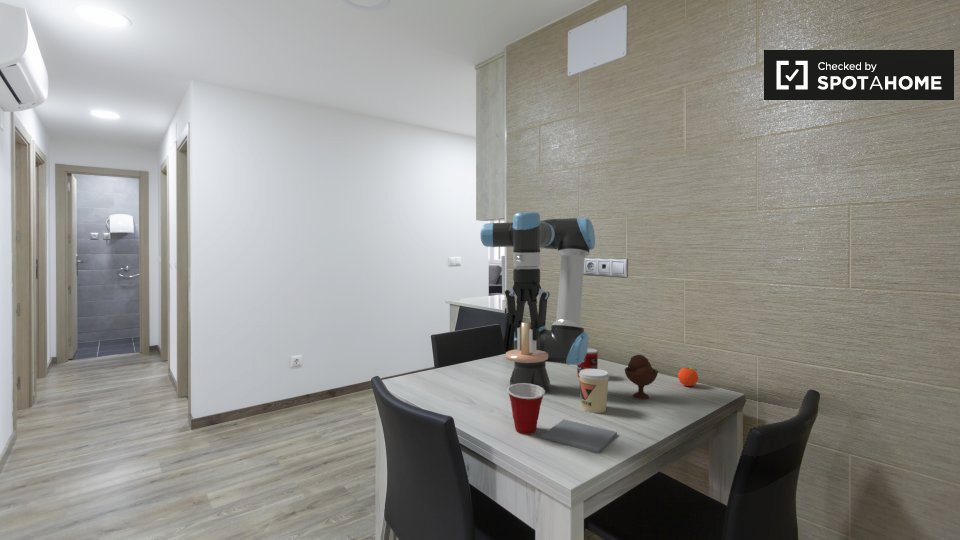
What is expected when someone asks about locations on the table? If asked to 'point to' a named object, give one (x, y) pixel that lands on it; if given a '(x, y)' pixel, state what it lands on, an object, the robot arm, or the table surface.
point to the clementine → (688, 376)
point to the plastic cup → (525, 406)
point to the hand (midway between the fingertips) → (526, 350)
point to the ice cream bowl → (640, 374)
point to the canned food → (589, 361)
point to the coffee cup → (593, 390)
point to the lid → (526, 348)
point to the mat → (580, 435)
